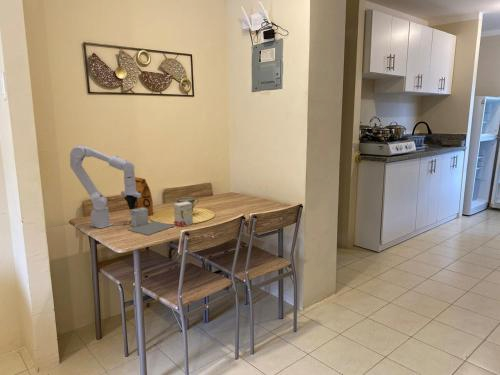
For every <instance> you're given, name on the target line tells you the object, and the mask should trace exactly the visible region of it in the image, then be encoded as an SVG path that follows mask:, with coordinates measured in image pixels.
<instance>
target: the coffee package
mask: <svg viewBox="0 0 500 375" xmlns="http://www.w3.org/2000/svg"><path fill="white" fill-rule="evenodd" d="M135 182H136V191H138V193H140V194H141V197H139V198H137V200H136V203H135V207H134V209H138V208H146V209H148V216H151V215H154V209H153V208H154V207H153V204H154V203H153V198H152V193H151V188H150V187H149V184H148V182H147V181H146V178H143V177H137V176H135ZM134 209H132V210H134Z"/></svg>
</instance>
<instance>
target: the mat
mask: <svg viewBox="0 0 500 375" xmlns="http://www.w3.org/2000/svg"><path fill="white" fill-rule="evenodd" d="M175 227H176V225H175V224H174V225H173V224H170V223H169V224H168V223H164V222H159V221H155V220H154V221H151V222H148V223H147V224H144V225H141V226H138V227H134V226H133V227H131V228H128V229H127V231H128V232H132V233H136V234H139V235H140V234H141V235H145V236H151V235H153V234H156V233H160V232H162V231H163V232H164V231H165V230H169V229H172V228H175Z"/></svg>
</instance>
